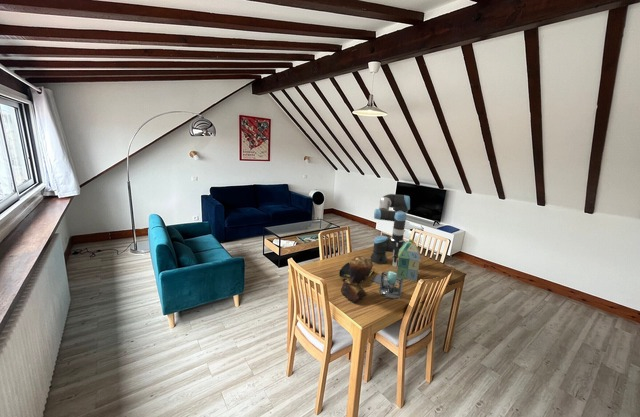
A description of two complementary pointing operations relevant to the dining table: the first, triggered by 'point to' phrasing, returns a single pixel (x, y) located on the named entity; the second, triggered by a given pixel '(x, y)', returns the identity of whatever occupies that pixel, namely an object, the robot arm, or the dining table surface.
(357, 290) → the bust
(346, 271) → the mask
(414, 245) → the printed tall block
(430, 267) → the dining table surface
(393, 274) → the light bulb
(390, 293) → the grey metal piece
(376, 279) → the coaster
